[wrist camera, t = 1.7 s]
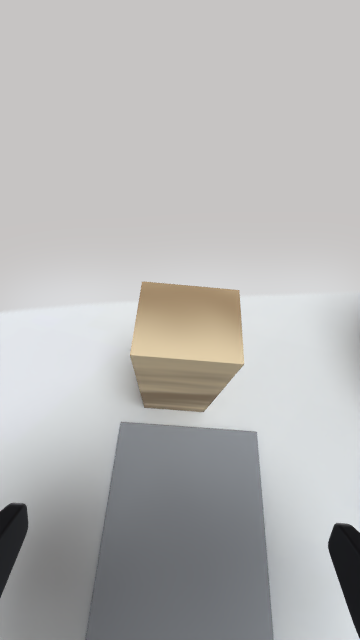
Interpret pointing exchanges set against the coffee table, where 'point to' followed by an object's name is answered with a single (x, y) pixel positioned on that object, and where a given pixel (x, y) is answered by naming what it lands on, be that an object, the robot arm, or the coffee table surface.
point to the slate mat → (183, 539)
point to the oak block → (185, 344)
